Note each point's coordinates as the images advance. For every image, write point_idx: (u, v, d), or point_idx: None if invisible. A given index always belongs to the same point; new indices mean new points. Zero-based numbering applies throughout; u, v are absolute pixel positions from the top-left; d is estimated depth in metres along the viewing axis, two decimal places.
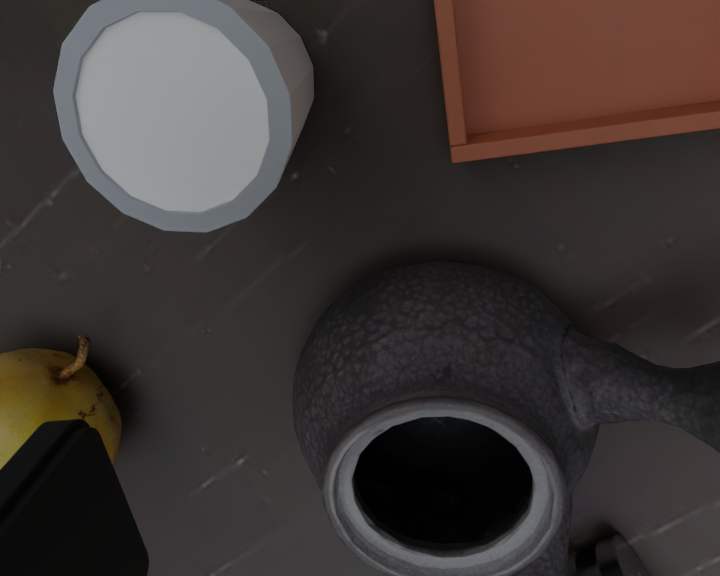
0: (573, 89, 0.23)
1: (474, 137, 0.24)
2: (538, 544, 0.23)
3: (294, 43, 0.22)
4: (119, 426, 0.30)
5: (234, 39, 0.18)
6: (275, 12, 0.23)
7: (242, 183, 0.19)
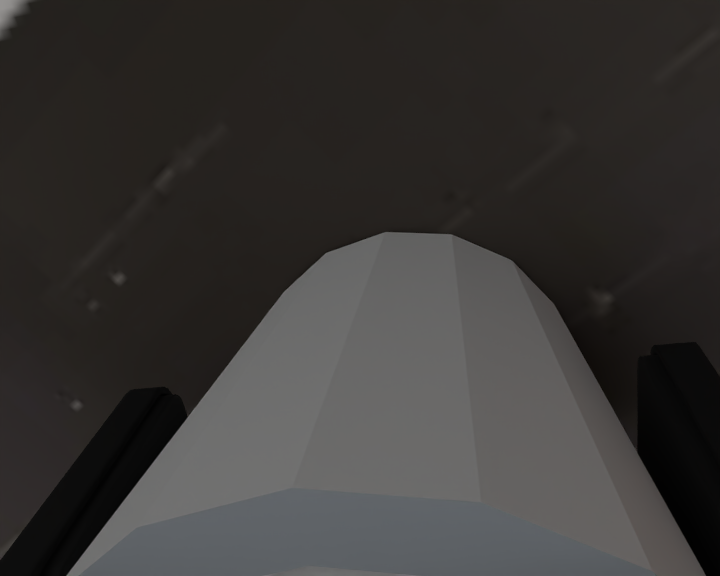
0: None
1: None
2: None
3: None
4: None
5: None
6: (512, 266, 0.11)
7: None
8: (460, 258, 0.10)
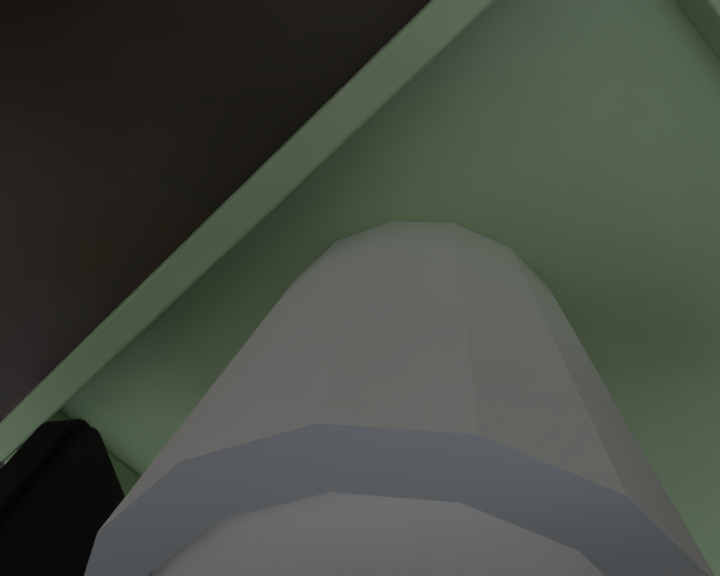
0: None
1: None
2: None
3: None
4: None
5: (621, 571, 0.06)
6: (511, 252, 0.12)
7: None
8: (461, 243, 0.11)
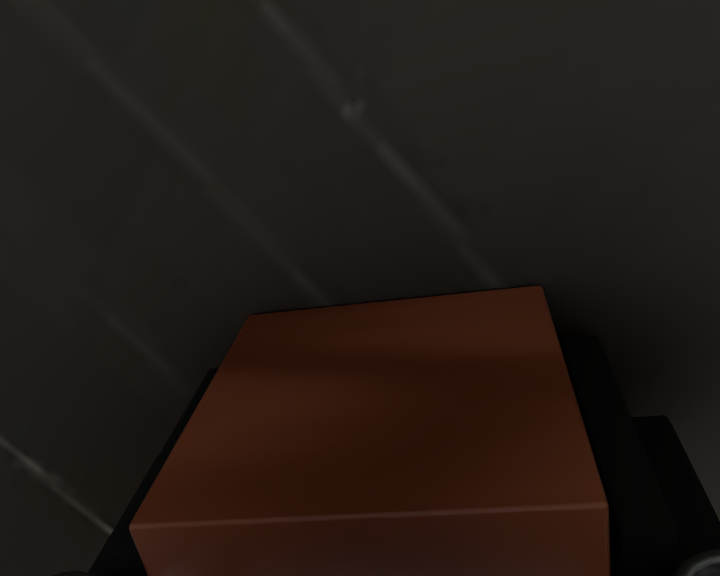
0: None
1: None
2: None
3: None
4: None
5: None
6: None
7: None
8: None
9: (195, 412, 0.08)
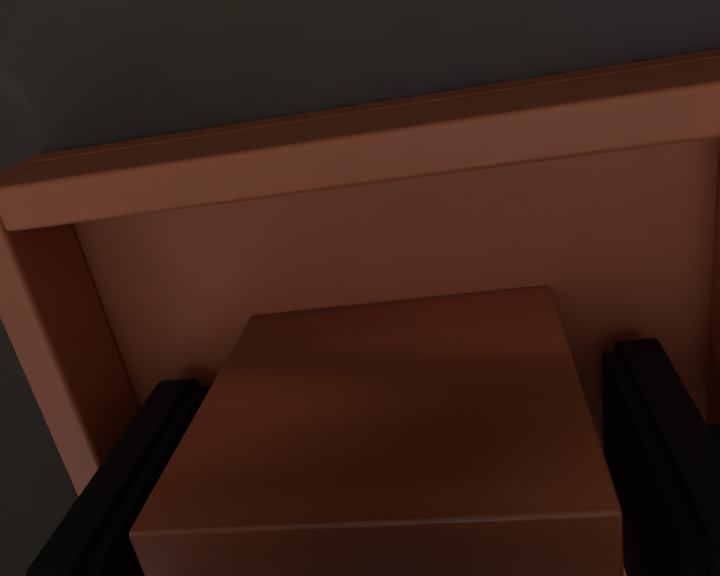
0: None
1: None
2: None
3: None
4: None
5: None
6: None
7: None
8: None
9: (196, 415, 0.08)
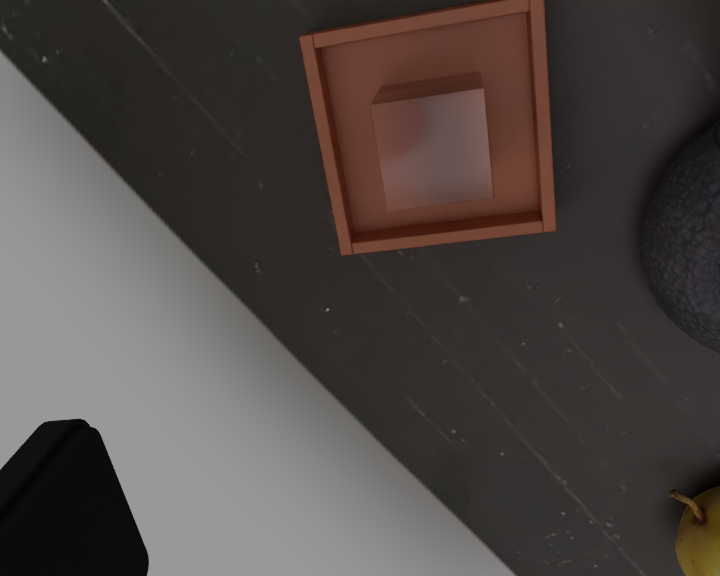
0: (510, 135, 0.31)
1: (539, 209, 0.32)
2: None
3: None
4: None
5: None
6: None
7: None
8: None
9: (375, 96, 0.28)
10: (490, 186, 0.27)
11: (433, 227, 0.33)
